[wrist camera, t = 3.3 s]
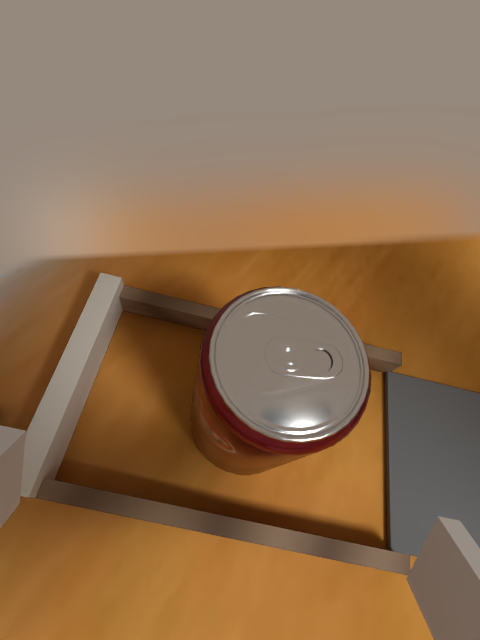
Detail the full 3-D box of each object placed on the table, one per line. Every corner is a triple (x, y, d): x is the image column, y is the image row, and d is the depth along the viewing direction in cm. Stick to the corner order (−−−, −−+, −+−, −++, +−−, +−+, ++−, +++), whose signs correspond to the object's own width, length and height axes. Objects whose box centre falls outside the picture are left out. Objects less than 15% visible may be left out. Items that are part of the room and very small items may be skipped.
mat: (502, 400, 29) (506, 399, 28) (534, 581, 23) (540, 582, 22) (384, 372, 28) (387, 371, 28) (387, 550, 22) (390, 550, 22)
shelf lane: (387, 361, 28) (409, 347, 26) (391, 570, 22) (421, 579, 19) (107, 294, 27) (100, 272, 25) (21, 492, 21) (-2, 491, 18)
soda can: (179, 466, 23) (182, 434, 12) (200, 361, 26) (216, 265, 16) (289, 483, 23) (383, 467, 13) (296, 378, 27) (374, 297, 16)
